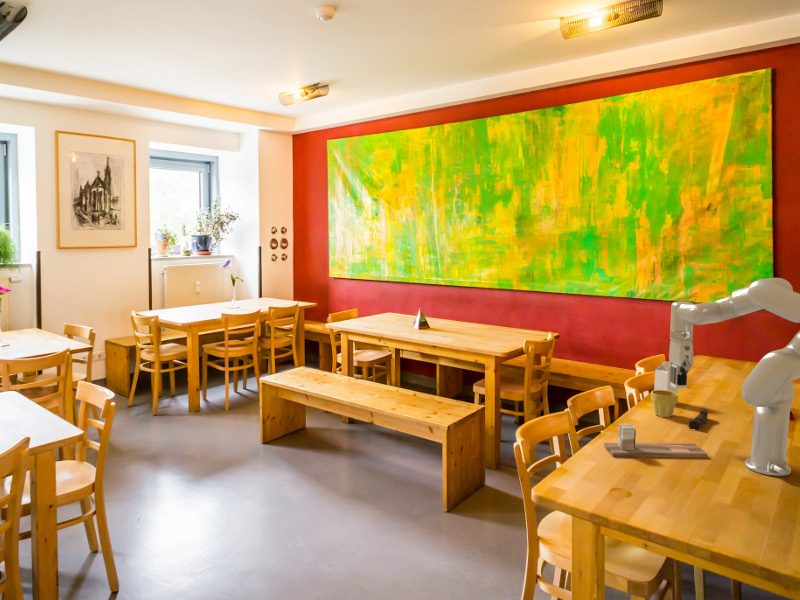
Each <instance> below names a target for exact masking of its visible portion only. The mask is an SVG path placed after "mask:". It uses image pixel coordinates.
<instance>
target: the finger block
mask: <svg viewBox="0 0 800 600" xmlns="http://www.w3.org/2000/svg"><path fill="white" fill-rule="evenodd" d="M682 366H685V365H682ZM682 369H684V368H681V370H682ZM678 374H679V369H678V366H677V365H675V364H672V366H671V367H670V382H671V386H673V387H675V388H678V389H687V386H688V383H687V384H686V385H677V375H678Z"/></svg>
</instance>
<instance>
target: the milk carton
mask: <svg viewBox="0 0 800 600" xmlns="http://www.w3.org/2000/svg"><path fill="white" fill-rule="evenodd" d="M670 367H671V362H670V361H669V360H668V361H663V362H661V364H660V365H659V366H658V367H657V368H655V370H654V371H655V372H654V386H653V387H654V388H653V389H654V390H667V391H672V392H675V393H677V394H678V395H679V388H675V387H673V386H671V382H670ZM678 402H679V401H678ZM678 402H677V403H676V404H678Z"/></svg>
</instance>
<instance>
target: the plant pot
mask: <svg viewBox="0 0 800 600" xmlns="http://www.w3.org/2000/svg"><path fill="white" fill-rule="evenodd" d="M650 400H651V401H652V404H653V405H652V406H653V410H654V414H656V415H655V416H657V415H658V416H657V417H660V416H662V417H661V418H672V417H673V415H674V412H675V411H674V410H675V408H676V404H678V403H677V402H679V393H678V394H677V393H675V392H672V391H667V390H652V391H651V392H650ZM671 416H672V417H671Z"/></svg>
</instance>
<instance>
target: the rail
mask: <svg viewBox="0 0 800 600" xmlns="http://www.w3.org/2000/svg"><path fill="white" fill-rule="evenodd" d="M636 432H637V431H636V428H635V426H633V424H631V423H618V437H617V438H618V440H617V441H618V442H604V443H603V444H604V445H603V446H604V448H605V449H606V451H607V452H608V453H609V454H610V456H611V457H614V458H615V457H617V458H680V459H681V458H686V459H687V458H688V459H689V458H691V459H692V458H693V459H694V458H695V459H696V458H697V459H703V458H704V459H707V458H708V452H707V451H705V450H704V449H702V448H700V446H698V445H696V443H651V442H650V443H639V442H638V443H637V442H636V437H637V435H636V434H637V433H636Z"/></svg>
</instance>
